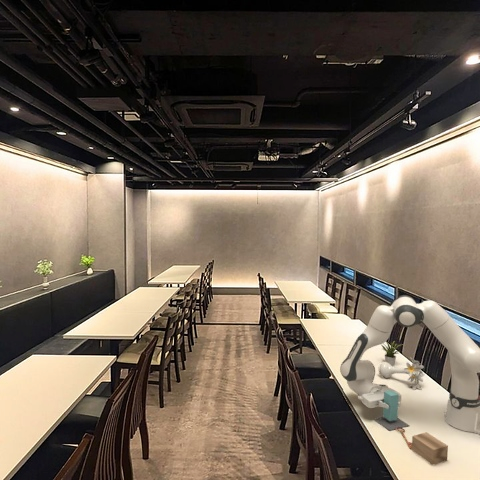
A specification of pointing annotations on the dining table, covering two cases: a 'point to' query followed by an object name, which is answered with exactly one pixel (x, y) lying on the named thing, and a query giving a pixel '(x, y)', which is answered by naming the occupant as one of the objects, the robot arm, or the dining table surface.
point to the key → (404, 437)
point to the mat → (391, 423)
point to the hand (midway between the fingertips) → (393, 406)
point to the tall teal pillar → (391, 405)
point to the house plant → (390, 353)
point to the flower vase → (388, 370)
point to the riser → (429, 448)
